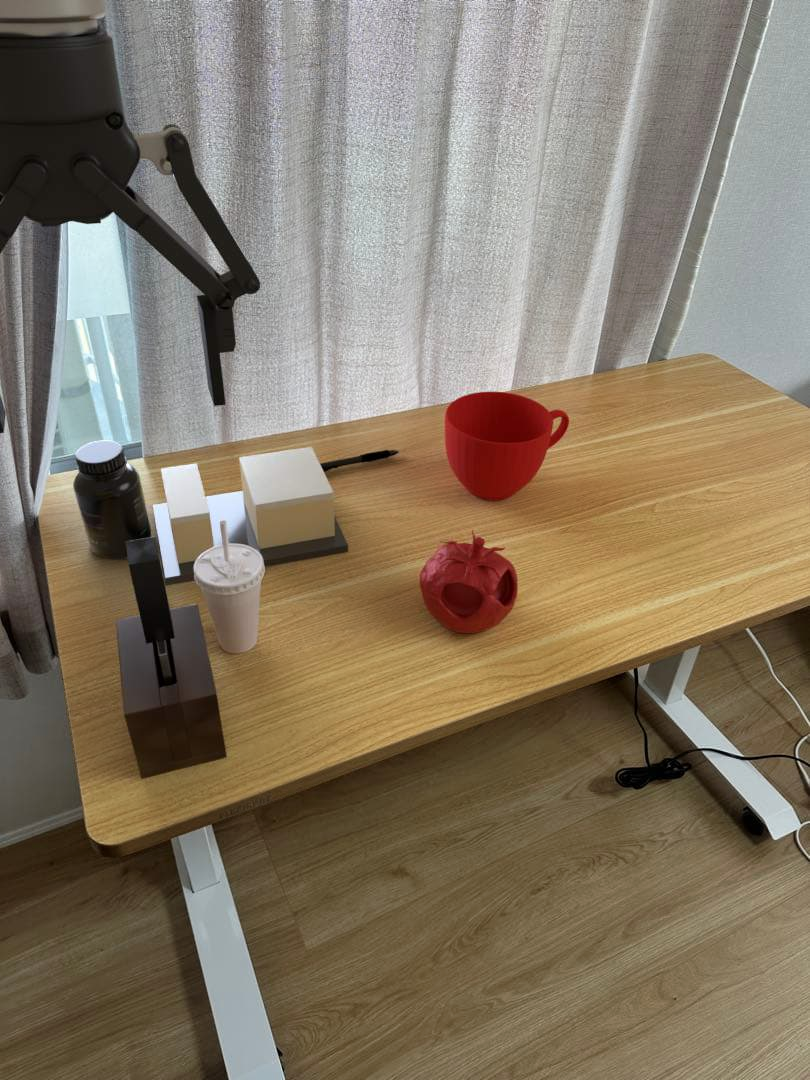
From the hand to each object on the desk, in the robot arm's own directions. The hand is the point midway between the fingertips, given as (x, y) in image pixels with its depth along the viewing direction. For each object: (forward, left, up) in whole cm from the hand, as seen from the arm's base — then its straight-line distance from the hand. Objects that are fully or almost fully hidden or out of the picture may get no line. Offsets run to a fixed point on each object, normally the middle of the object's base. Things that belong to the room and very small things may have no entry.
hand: (111, 410), depth 53 cm
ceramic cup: (+44, +26, -31) cm, 60 cm away
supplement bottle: (-3, +28, -31) cm, 41 cm away
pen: (+26, +36, -31) cm, 54 cm away
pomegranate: (+30, +6, -31) cm, 43 cm away
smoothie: (+7, +8, -31) cm, 33 cm away
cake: (+16, +26, -31) cm, 43 cm away
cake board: (+11, +26, -31) cm, 41 cm away
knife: (0, 0, -30) cm, 30 cm away
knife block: (0, 0, -31) cm, 31 cm away
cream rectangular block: (+5, +26, -30) cm, 39 cm away
